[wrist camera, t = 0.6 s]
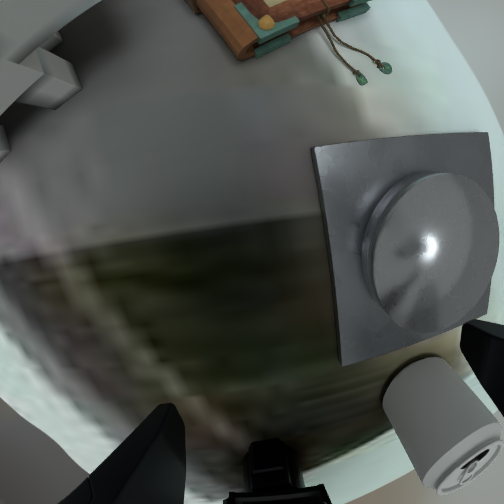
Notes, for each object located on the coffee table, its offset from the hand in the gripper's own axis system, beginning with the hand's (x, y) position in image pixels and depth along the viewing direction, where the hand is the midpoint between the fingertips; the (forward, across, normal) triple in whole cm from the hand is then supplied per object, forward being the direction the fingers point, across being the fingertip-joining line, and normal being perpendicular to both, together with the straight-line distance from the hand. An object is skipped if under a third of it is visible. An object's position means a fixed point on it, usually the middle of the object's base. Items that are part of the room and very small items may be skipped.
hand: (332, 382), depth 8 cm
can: (+14, -11, +16) cm, 23 cm away
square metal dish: (+13, -11, +2) cm, 17 cm away
